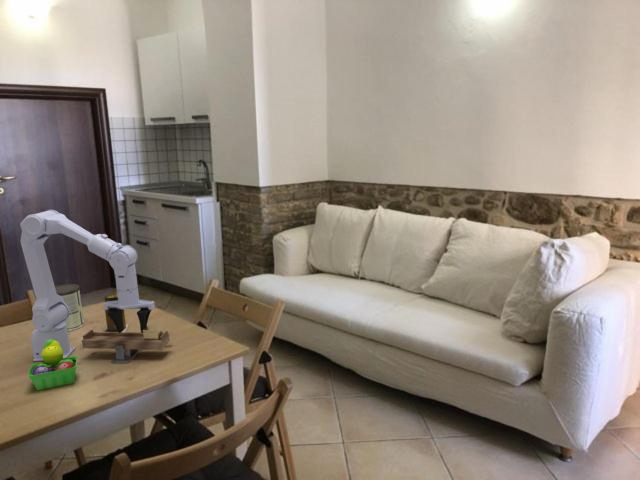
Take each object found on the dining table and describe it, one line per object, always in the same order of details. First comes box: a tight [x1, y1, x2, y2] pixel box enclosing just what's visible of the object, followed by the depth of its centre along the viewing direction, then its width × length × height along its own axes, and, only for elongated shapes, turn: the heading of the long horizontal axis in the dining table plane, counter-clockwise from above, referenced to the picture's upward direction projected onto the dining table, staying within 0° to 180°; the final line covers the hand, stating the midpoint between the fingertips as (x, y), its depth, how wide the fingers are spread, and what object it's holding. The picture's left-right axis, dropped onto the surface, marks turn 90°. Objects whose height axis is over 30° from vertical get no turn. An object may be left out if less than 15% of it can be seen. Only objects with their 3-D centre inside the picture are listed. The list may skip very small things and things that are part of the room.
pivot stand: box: [111, 344, 142, 364], centre depth 150 cm, size 5×10×5 cm, turn 175°
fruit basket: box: [27, 339, 78, 391], centre depth 135 cm, size 11×9×11 cm
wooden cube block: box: [143, 324, 165, 340], centre depth 148 cm, size 4×4×4 cm
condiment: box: [103, 293, 130, 332], centre depth 170 cm, size 7×8×12 cm
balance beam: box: [81, 329, 171, 351], centre depth 150 cm, size 24×7×4 cm, turn 85°
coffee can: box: [54, 283, 85, 332], centre depth 174 cm, size 10×10×14 cm
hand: (132, 331), depth 149 cm, fingers open, 6 cm apart
